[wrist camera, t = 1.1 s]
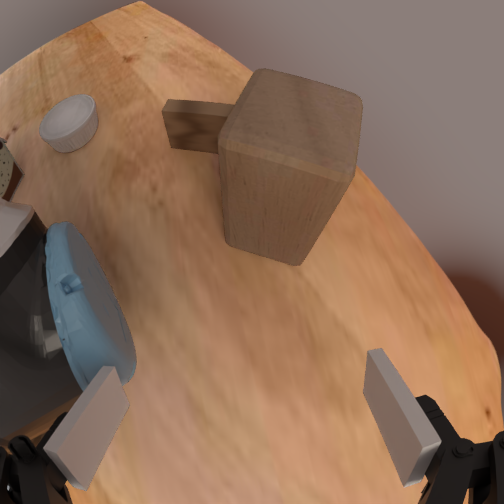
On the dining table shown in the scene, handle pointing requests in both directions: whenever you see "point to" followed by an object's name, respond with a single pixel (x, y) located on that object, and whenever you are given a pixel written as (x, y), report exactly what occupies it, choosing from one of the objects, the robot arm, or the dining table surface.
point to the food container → (8, 173)
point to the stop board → (195, 124)
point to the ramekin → (70, 123)
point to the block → (286, 163)
